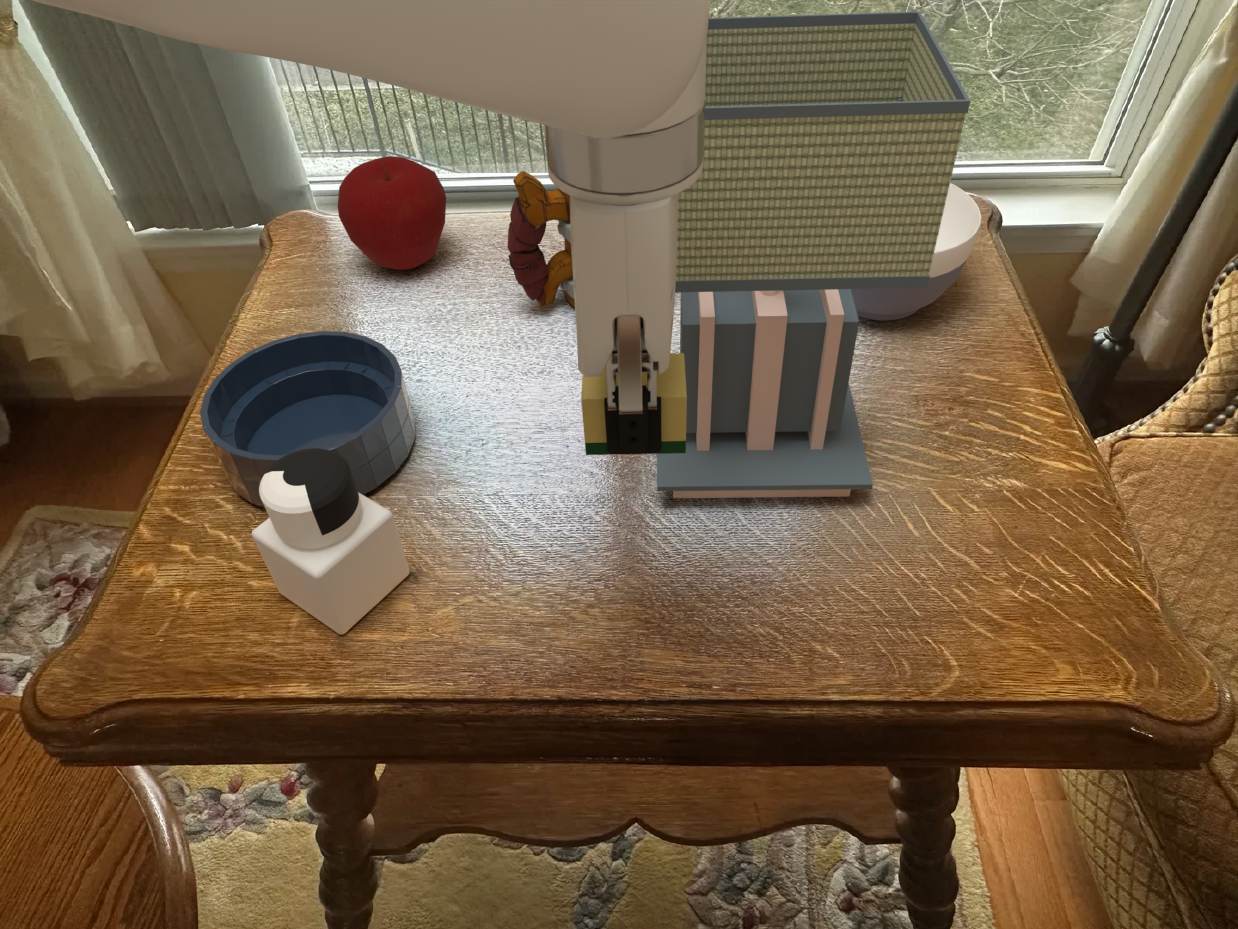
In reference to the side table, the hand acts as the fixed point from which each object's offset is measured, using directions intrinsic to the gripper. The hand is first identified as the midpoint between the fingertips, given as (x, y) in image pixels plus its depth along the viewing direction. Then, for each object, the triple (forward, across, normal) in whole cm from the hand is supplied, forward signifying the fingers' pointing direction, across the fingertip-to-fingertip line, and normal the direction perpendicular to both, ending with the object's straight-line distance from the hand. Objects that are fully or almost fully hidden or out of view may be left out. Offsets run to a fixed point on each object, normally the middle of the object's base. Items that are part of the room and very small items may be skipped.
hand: (634, 421), depth 57 cm
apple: (+17, -45, -25) cm, 55 cm away
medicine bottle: (+17, -1, -22) cm, 28 cm away
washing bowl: (+17, -16, -28) cm, 36 cm away
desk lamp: (+17, -16, +10) cm, 25 cm away
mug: (+17, -38, -5) cm, 42 cm away
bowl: (+17, -37, +24) cm, 48 cm away
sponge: (+1, 0, 0) cm, 1 cm away
